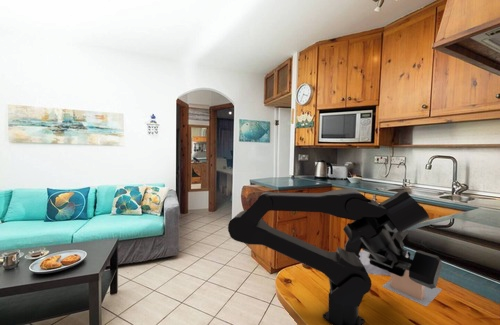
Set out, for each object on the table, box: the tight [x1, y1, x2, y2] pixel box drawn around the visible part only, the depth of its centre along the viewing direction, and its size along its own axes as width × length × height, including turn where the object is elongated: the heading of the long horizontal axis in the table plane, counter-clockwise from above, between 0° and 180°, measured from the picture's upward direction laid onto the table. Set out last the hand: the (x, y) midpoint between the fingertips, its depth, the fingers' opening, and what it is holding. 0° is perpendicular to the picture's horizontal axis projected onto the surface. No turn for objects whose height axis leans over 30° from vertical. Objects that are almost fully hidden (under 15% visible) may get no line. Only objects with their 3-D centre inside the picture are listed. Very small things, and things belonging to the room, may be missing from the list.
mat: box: [381, 279, 443, 307], centre depth 60 cm, size 11×10×1 cm
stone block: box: [359, 249, 391, 277], centre depth 72 cm, size 12×5×10 cm
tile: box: [390, 270, 425, 300], centre depth 58 cm, size 2×7×8 cm, turn 34°
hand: (398, 272), depth 54 cm, fingers closed
